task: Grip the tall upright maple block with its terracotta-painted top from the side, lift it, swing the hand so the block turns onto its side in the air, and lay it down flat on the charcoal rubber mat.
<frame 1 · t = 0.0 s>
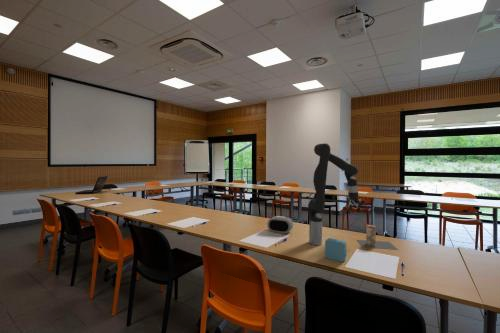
hand: (354, 211, 197), 22 cm above the table, tool pointing down, fingers open, 8 cm apart
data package: (335, 259, 157), on the table
alarm clock: (280, 232, 215), on the table
charcoal mat: (376, 245, 183), on the table
maple block: (370, 244, 183), point 1 cm above the table, touching charcoal mat
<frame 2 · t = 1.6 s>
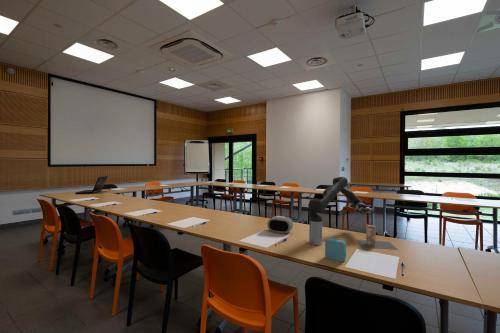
hand: (367, 212, 193), 22 cm above the table, tool horizontal, fingers open, 8 cm apart
nothing on the table moved.
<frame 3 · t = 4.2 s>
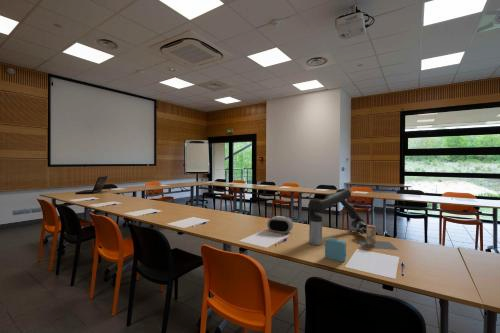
hand: (368, 233, 188), 7 cm above the table, tool horizontal, fingers open, 8 cm apart
nothing on the table moved.
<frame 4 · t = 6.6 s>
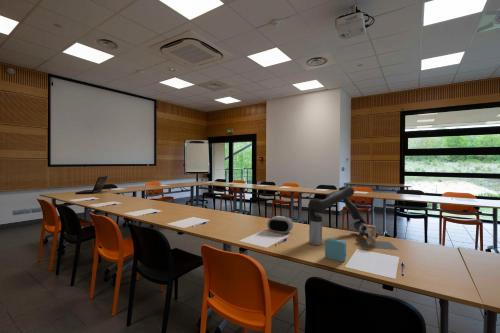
hand: (372, 236, 180), 8 cm above the table, tool horizontal, fingers closed on maple block, 5 cm apart
maple block: (370, 244, 183), point 1 cm above the table, touching charcoal mat, gripper
everything else where it was.
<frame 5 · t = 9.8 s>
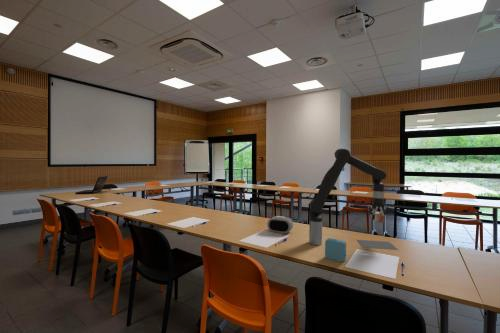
hand: (377, 219, 183), 19 cm above the table, tool pointing down, fingers closed on maple block, 5 cm apart
maple block: (374, 214, 190), point 21 cm above the table, tilted 90°, touching gripper
everything else where it was.
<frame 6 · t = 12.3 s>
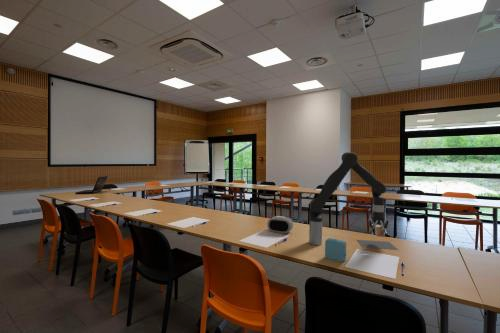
hand: (377, 233, 183), 9 cm above the table, tool pointing down, fingers closed on maple block, 5 cm apart
maple block: (374, 227, 190), point 11 cm above the table, tilted 90°, touching gripper
everything else where it was.
when the fingers open (2 cm above the table, at t = 14.5 s): maple block drops 1 cm, resting on charcoal mat.
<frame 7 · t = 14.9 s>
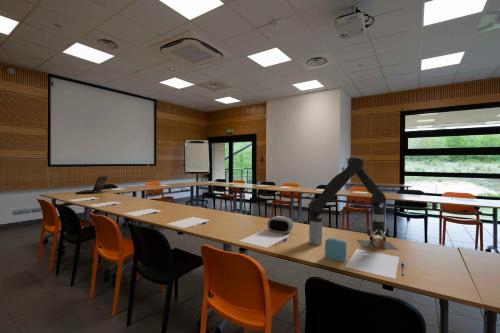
hand: (377, 241, 183), 3 cm above the table, tool pointing down, fingers open, 8 cm apart
maple block: (374, 238, 190), point 3 cm above the table, tilted 90°, touching charcoal mat
everything else where it was.
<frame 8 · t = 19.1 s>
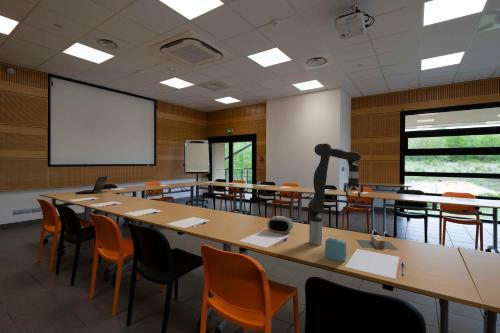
hand: (352, 197, 198), 33 cm above the table, tool pointing down, fingers open, 8 cm apart
nothing on the table moved.
at the end: maple block tilted 90°; maple block inside the target area (6.7 cm from its centre), point 3.1 cm above the table; the gripper is holding nothing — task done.
